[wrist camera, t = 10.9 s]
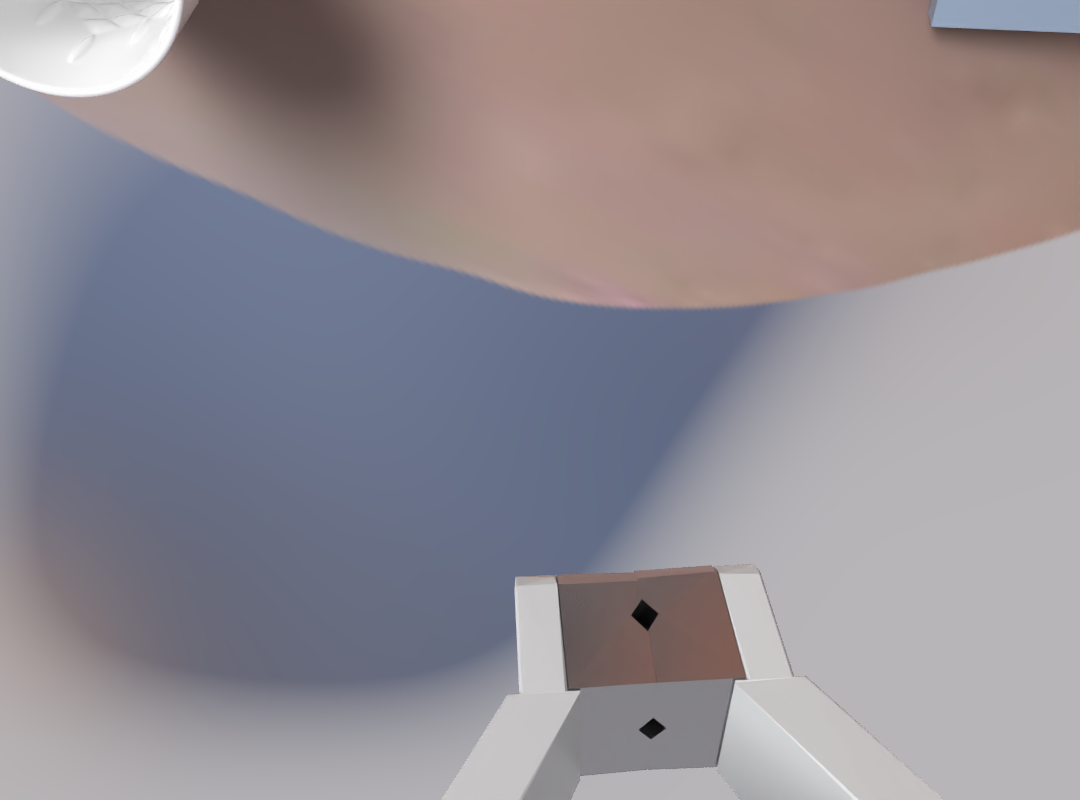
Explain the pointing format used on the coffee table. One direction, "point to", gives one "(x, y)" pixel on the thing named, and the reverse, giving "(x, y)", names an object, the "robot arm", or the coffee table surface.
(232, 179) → the coffee table surface
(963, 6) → the domino
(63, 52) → the white cup
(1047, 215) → the coffee table surface
